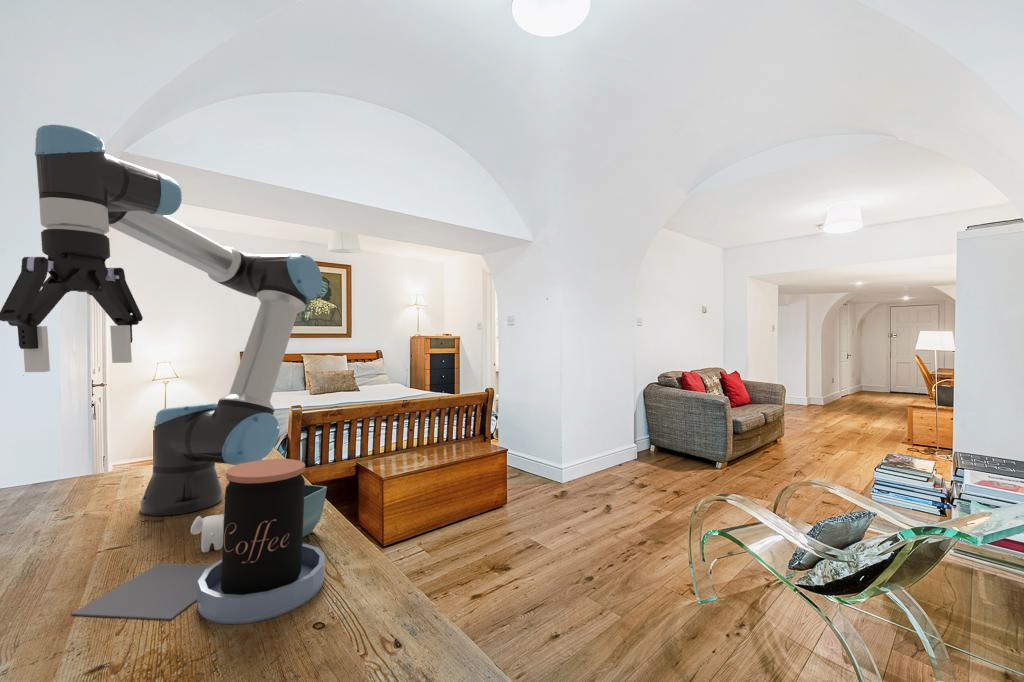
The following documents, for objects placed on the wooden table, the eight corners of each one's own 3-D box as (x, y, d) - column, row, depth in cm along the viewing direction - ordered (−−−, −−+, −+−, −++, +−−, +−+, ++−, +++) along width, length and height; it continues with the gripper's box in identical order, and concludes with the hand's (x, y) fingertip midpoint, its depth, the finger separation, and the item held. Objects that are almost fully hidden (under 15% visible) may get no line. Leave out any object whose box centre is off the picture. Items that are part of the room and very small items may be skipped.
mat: (159, 564, 72) (159, 563, 72) (239, 568, 72) (239, 567, 72) (71, 615, 58) (71, 613, 58) (170, 620, 58) (171, 618, 58)
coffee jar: (203, 606, 60) (209, 477, 60) (244, 568, 70) (249, 458, 71) (282, 605, 61) (288, 477, 61) (311, 567, 71) (315, 458, 72)
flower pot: (296, 549, 79) (298, 500, 80) (256, 543, 81) (258, 495, 81) (326, 530, 88) (328, 486, 88) (289, 525, 90) (290, 482, 90)
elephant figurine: (234, 535, 84) (235, 504, 85) (233, 551, 78) (235, 518, 78) (191, 542, 81) (193, 510, 81) (187, 560, 74) (189, 525, 74)
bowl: (247, 561, 74) (247, 541, 74) (341, 565, 74) (342, 545, 74) (166, 621, 58) (168, 594, 58) (287, 627, 57) (288, 600, 57)
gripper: (122, 246, 79) (128, 359, 80) (-52, 211, 55) (-40, 377, 56) (163, 245, 80) (169, 359, 81) (8, 211, 55) (19, 376, 56)
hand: (84, 367), depth 68 cm, fingers open, 13 cm apart
